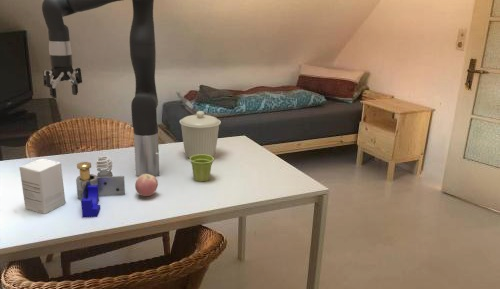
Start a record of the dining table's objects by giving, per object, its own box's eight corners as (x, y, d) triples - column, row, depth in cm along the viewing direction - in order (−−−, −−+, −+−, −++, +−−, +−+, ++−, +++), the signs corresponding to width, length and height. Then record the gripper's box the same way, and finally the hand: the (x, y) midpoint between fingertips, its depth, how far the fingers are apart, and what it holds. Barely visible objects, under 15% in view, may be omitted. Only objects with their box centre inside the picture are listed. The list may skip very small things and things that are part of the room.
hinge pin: (94, 192, 155) (91, 161, 151) (93, 198, 150) (90, 166, 147) (81, 193, 154) (77, 162, 150) (79, 199, 149) (75, 167, 146)
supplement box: (46, 198, 149) (41, 157, 145) (66, 203, 146) (62, 162, 141) (24, 208, 141) (18, 166, 137) (44, 214, 138) (39, 171, 133)
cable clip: (97, 217, 138) (95, 200, 136) (82, 217, 137) (80, 200, 136) (103, 201, 149) (102, 185, 148) (90, 201, 149) (88, 185, 147)
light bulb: (116, 184, 162) (114, 154, 158) (107, 190, 157) (105, 159, 153) (104, 182, 164) (102, 152, 160) (94, 187, 159) (91, 157, 155)
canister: (204, 147, 207) (204, 104, 201) (228, 157, 195) (229, 112, 188) (172, 154, 196) (171, 109, 189) (195, 166, 183) (195, 118, 177)
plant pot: (217, 177, 173) (218, 157, 170) (205, 185, 165) (206, 164, 162) (197, 172, 177) (197, 152, 174) (185, 180, 169) (184, 159, 166)
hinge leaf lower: (99, 191, 156) (98, 173, 154) (94, 211, 141) (92, 192, 139) (79, 192, 154) (78, 174, 152) (72, 213, 140) (70, 193, 138)
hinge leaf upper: (125, 190, 158) (124, 172, 156) (124, 198, 151) (123, 180, 149) (79, 192, 154) (78, 174, 152) (76, 200, 148) (75, 182, 146)
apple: (146, 202, 149) (145, 181, 147) (130, 196, 153) (129, 175, 150) (162, 194, 156) (161, 174, 153) (147, 189, 159) (146, 169, 157)
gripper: (47, 55, 153) (52, 100, 158) (83, 53, 164) (87, 95, 169) (36, 53, 157) (41, 97, 162) (72, 51, 168) (76, 92, 173)
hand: (64, 96), depth 165 cm, fingers open, 8 cm apart
